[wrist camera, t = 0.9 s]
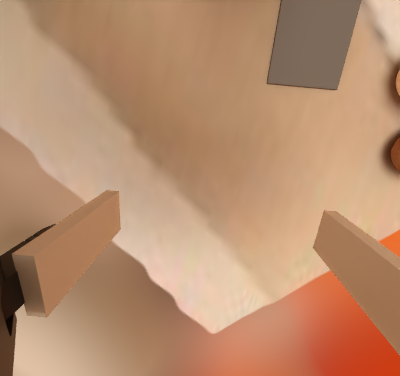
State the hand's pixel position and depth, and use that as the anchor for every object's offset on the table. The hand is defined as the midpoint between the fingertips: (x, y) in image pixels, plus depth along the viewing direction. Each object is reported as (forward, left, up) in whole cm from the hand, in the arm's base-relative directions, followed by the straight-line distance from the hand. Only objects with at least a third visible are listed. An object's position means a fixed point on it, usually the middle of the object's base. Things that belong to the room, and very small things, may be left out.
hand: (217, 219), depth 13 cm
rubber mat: (-6, +28, -28) cm, 41 cm away
